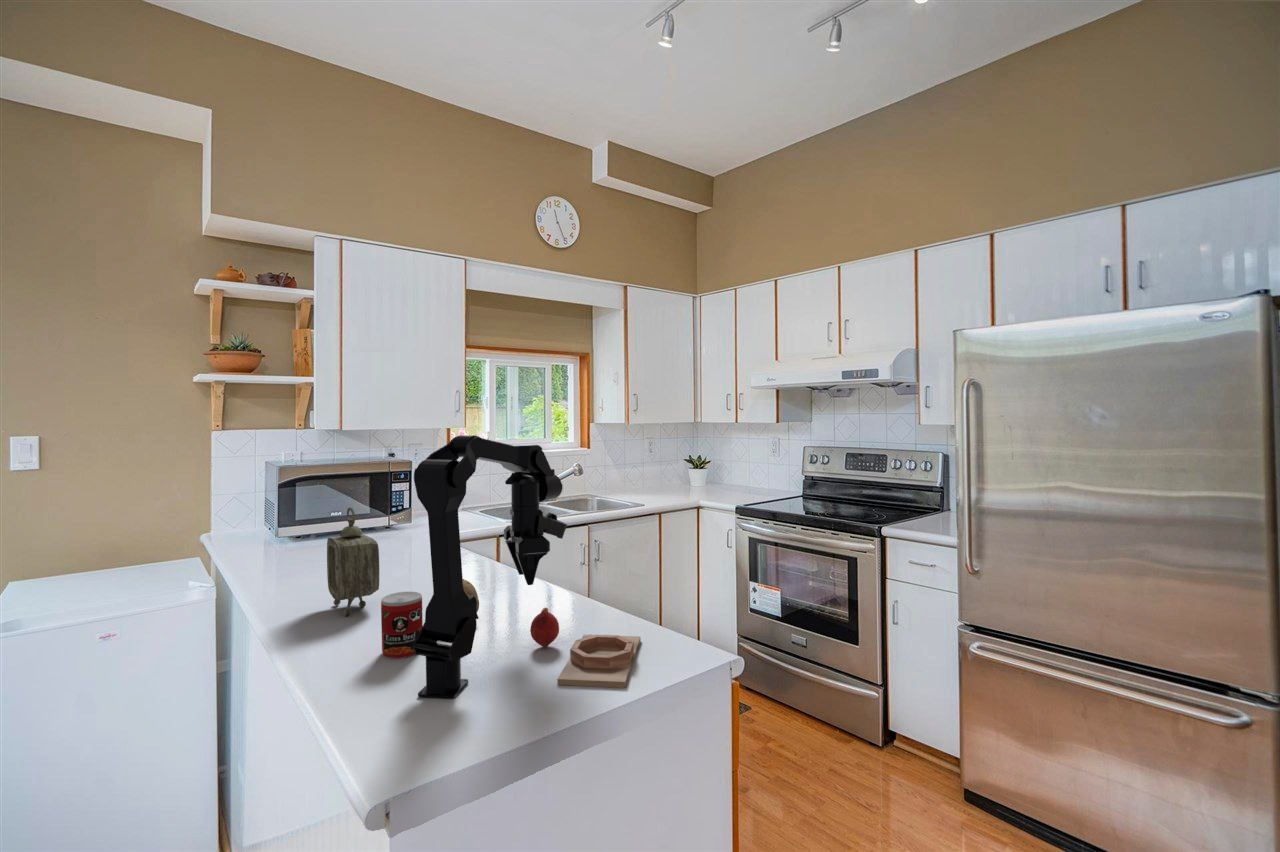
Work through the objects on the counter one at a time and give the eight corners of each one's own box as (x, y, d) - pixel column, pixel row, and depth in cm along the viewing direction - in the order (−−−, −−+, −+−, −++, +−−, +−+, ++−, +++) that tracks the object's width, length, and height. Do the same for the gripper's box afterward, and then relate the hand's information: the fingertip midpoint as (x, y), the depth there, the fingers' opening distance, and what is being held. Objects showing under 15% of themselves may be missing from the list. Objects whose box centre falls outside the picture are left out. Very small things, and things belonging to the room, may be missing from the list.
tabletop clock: (327, 605, 155) (326, 506, 155) (366, 598, 160) (364, 502, 160) (340, 620, 143) (338, 512, 143) (381, 612, 149) (379, 509, 149)
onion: (553, 653, 122) (553, 613, 122) (526, 651, 123) (525, 611, 123) (563, 642, 128) (562, 604, 128) (536, 640, 129) (536, 602, 129)
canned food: (379, 661, 119) (378, 604, 119) (384, 646, 127) (383, 593, 127) (421, 656, 121) (420, 600, 121) (424, 642, 129) (423, 589, 129)
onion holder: (625, 687, 106) (625, 670, 106) (557, 684, 108) (557, 667, 108) (640, 641, 128) (640, 627, 128) (583, 639, 130) (583, 625, 130)
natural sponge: (437, 618, 144) (436, 575, 144) (476, 613, 147) (475, 572, 147) (439, 630, 136) (438, 585, 135) (480, 625, 139) (480, 581, 139)
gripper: (574, 508, 123) (575, 586, 123) (552, 497, 140) (553, 566, 140) (518, 511, 119) (519, 592, 119) (503, 500, 136) (503, 570, 136)
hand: (525, 579), depth 129 cm, fingers open, 9 cm apart
